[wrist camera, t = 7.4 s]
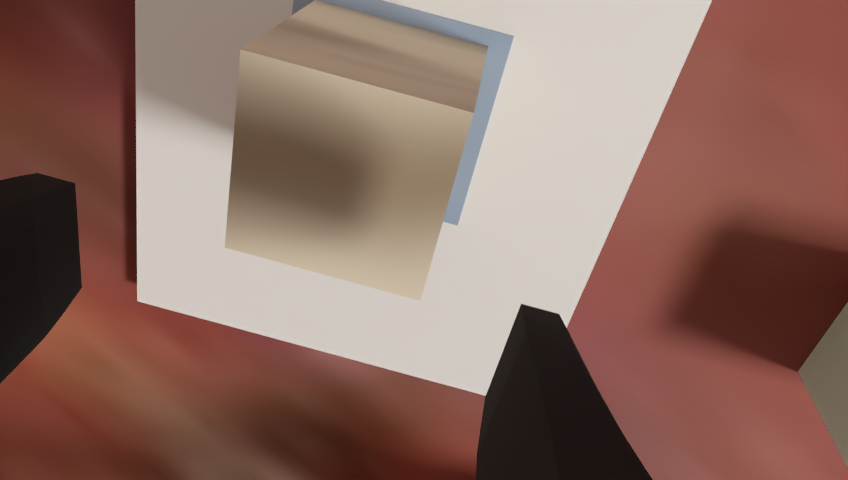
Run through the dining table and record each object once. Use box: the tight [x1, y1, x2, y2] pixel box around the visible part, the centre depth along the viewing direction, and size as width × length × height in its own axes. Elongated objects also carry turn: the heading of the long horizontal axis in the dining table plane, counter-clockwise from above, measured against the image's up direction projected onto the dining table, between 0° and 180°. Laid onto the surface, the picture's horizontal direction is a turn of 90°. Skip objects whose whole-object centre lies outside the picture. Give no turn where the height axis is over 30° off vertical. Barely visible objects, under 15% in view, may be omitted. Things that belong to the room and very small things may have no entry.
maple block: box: [225, 0, 488, 301], centre depth 15 cm, size 4×4×5 cm
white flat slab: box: [135, 0, 712, 396], centre depth 18 cm, size 18×14×1 cm
